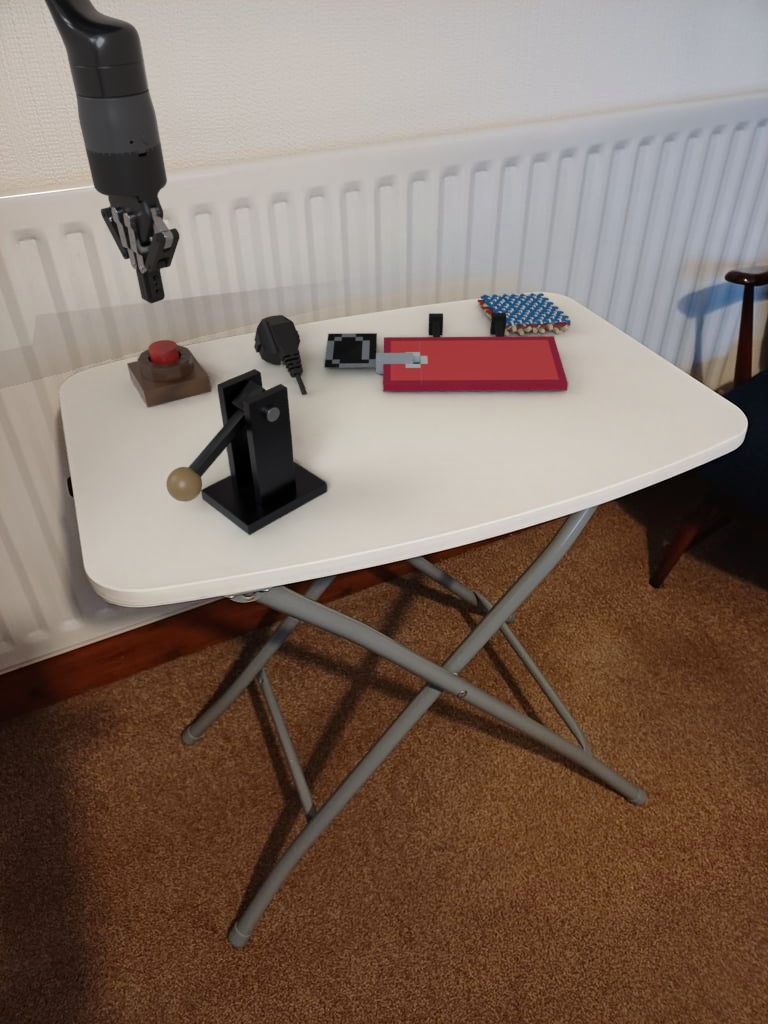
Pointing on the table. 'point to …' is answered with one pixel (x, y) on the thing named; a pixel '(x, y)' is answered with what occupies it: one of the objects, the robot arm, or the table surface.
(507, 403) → the table surface
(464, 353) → the red board with handle
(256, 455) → the switch bracket
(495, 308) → the woven mat
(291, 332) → the power plug
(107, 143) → the robot arm
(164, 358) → the button
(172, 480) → the switch lever
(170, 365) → the button block
